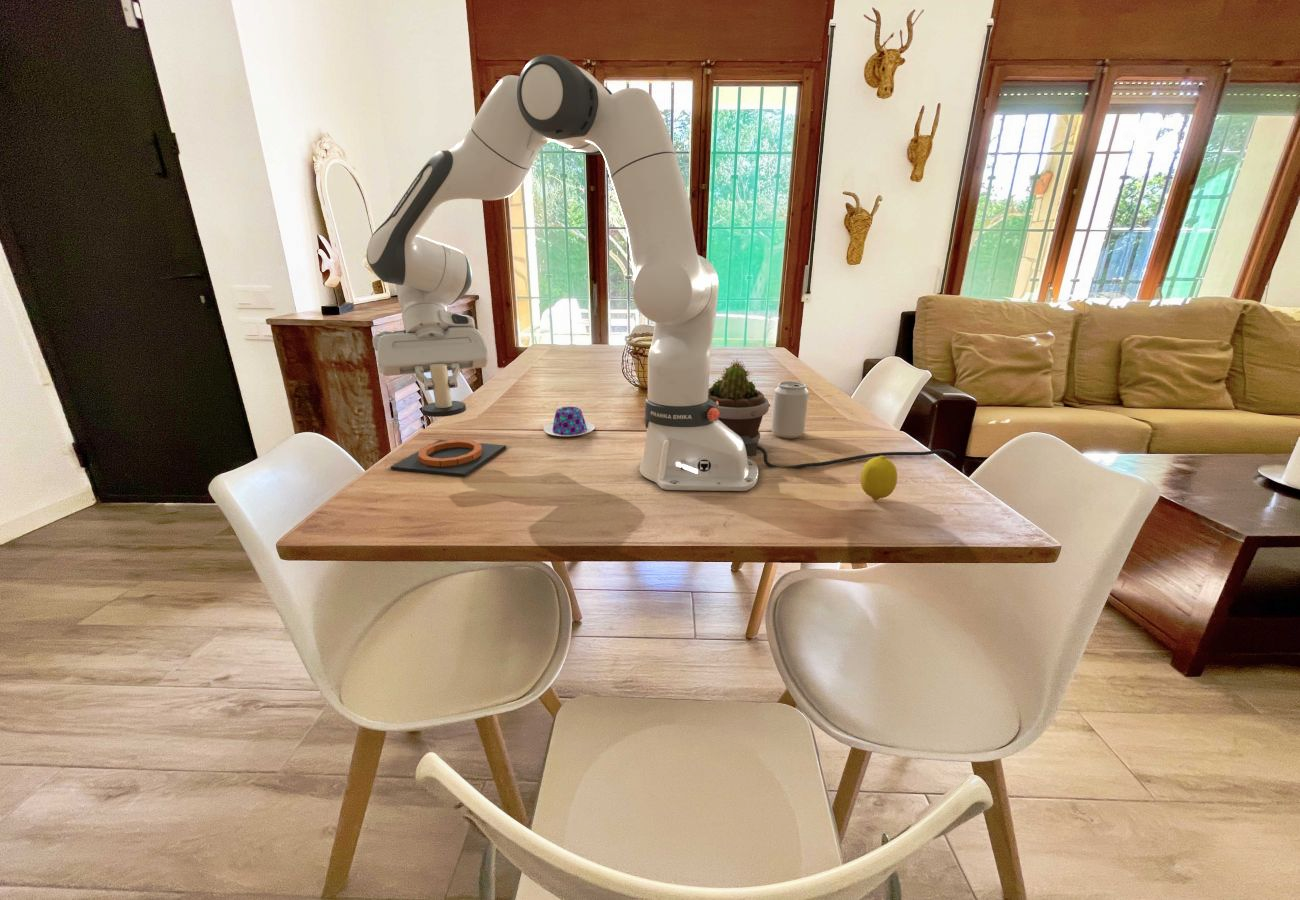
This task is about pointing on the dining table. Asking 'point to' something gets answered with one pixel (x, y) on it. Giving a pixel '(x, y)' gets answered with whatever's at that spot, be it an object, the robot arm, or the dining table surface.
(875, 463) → the lemon
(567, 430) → the pudding
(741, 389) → the flowerpot
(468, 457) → the base pad
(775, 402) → the can
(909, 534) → the dining table surface
